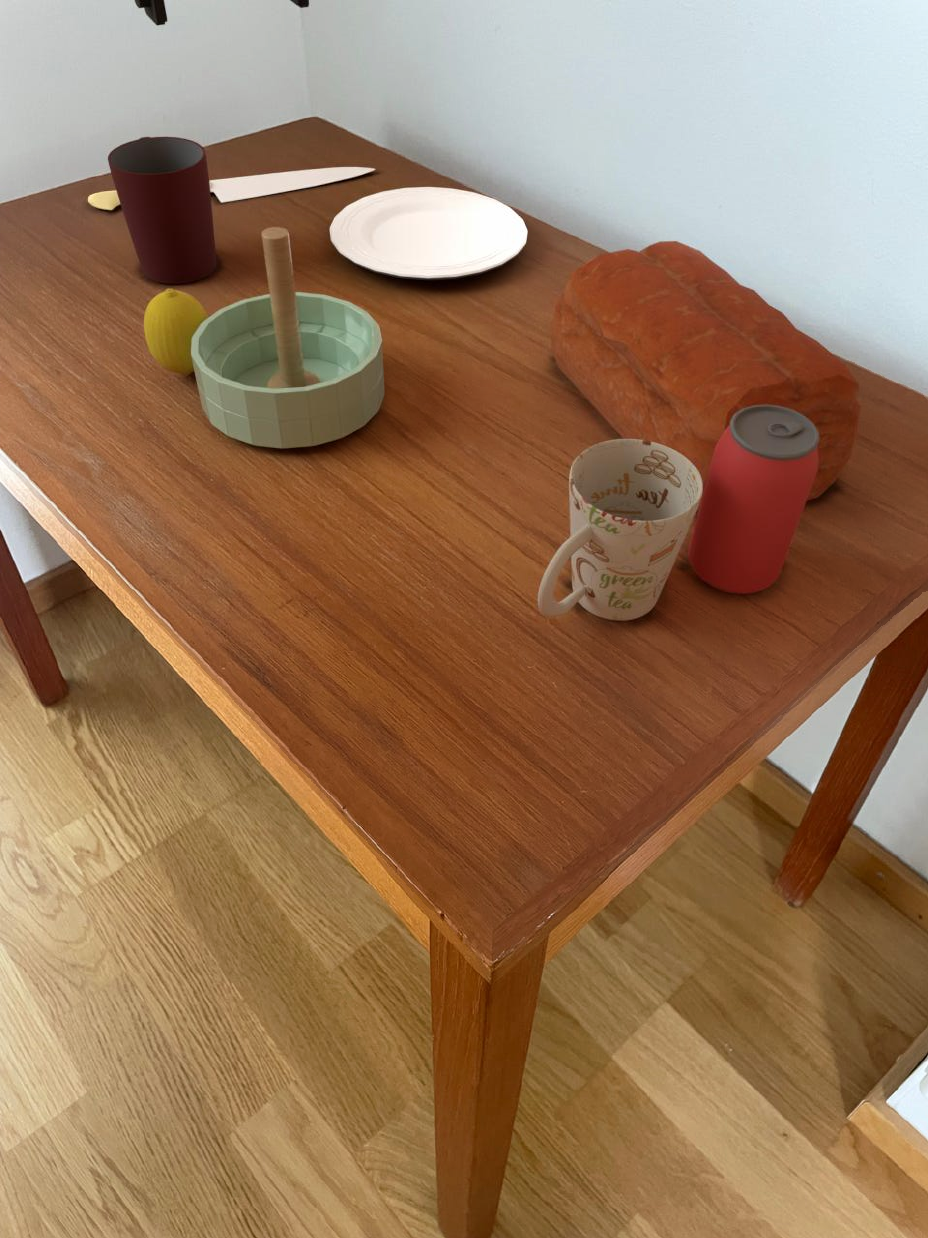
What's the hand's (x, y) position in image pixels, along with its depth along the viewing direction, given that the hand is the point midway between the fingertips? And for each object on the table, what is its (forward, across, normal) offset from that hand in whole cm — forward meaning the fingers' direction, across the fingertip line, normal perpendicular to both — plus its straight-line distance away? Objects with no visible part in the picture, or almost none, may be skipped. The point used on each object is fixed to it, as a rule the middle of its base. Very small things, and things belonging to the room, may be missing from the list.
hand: (228, 10), depth 64 cm
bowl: (+28, 0, +4) cm, 29 cm away
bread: (+28, -29, +20) cm, 45 cm away
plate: (+28, -23, -17) cm, 40 cm away
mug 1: (+28, +2, -25) cm, 38 cm away
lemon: (+28, +7, -4) cm, 30 cm away
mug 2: (+28, -10, +36) cm, 47 cm away
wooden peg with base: (+28, 0, +4) cm, 28 cm away
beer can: (+28, -21, +37) cm, 51 cm away
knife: (+28, -9, -38) cm, 48 cm away
